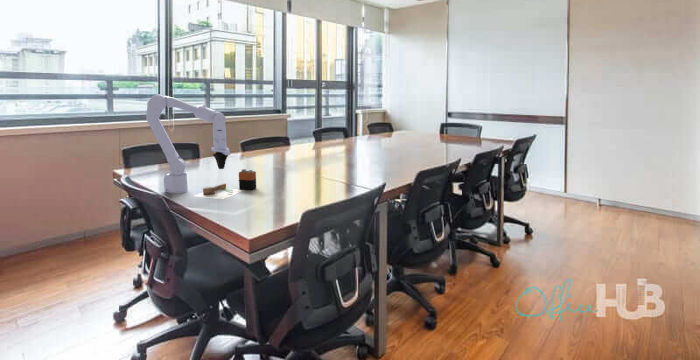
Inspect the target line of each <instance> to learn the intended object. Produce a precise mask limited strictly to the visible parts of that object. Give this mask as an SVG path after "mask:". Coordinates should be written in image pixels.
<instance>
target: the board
mask: <svg viewBox="0 0 700 360" xmlns="http://www.w3.org/2000/svg"><path fill="white" fill-rule="evenodd" d="M244 191H245V190H240V189H236V188H235V189H234V188H227V187H226V188H224V189H221V190H218V191H215V194H213V195H204V194H203V192H200V193H197V194H195V195H194V197H196V198H206V199H215V200H225V199H227V198H230V197H232V196H234V195H236V194H239V193H241V192H244Z"/></svg>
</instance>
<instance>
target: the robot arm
mask: <svg viewBox="0 0 700 360" xmlns="http://www.w3.org/2000/svg"><path fill="white" fill-rule="evenodd" d="M146 105H147V108H146V115H145V119H146V121H147V123H148V125H149V127H150V129H151V131H152V133H153V135H154V137H155V138H156V140H157V142H158V144H159V147H160V148H161V150H162V151H163V154H164V156H165V159H166V161H167V163H168V170H169V173H166V174H165V175H164V177H163V186H164V192H165V193H171V194H184V193H188V191H189V189H188V187H189V186H188V175H187V174H188V173H187V171H185V168H186V161H185V160H184V159H183V158H182V157H180V155H179V153H178V151H176V148H175V146H174V144H173V143H172V140H171V138H170V137H169V135H168V133H167V131H166V129H165V127H164V125H163V123H162V122H161V120H160V119H161V118H160V117H161V115H162V112H163V110H164V109H170V108H176V109H180V110H182V111H186V112H188V113H192V114H194V116H195V118H196V119H200V120H202V121H205V122H206V123H207V122H208V123H212V137H213V138H212V140H213V141H212V142H213V146H212V147H211V148H210V149H211V152H215V153H212V156H213V157H214V159H215V162H216V165H217V168H218V170H223V169H225V167H226V161H227V158H228V156H230V155H231V150H230V148H229V147H228V146H227V145H228V143H227V129H226V127H227V125H226V123H227V119H226V116H225V114H224V113H222V112H221V111H217V109H212V108H210V107H207V106H206V105H205V104H203V105H201V104H200V105H197V106H195V105H193V104H190V103H188V102H185V101H183V100H180V99H178V98H176V97H171V96H168V95H163V94H162V93H161V94H160V93H158V94H154V95H152V96H151V97H150V99H149V100H148V102H147V104H146ZM166 107H167V108H166Z"/></svg>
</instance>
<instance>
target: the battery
mask: <svg viewBox="0 0 700 360" xmlns="http://www.w3.org/2000/svg"><path fill="white" fill-rule="evenodd" d="M238 185H239V189H238V190H244V191H254V190H256V189H257V172H256V171H255V170H253V169H249V170H247V169H244V168H243V169H241V171H239V172H238Z"/></svg>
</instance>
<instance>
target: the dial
mask: <svg viewBox="0 0 700 360" xmlns="http://www.w3.org/2000/svg"><path fill="white" fill-rule="evenodd" d="M224 188H227V183H220V184H216V185H215V186H214V185H213V186H206V187H203V188H202V193H203V194H204V195H213V194H215V191H218V190H221V189H224Z"/></svg>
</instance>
